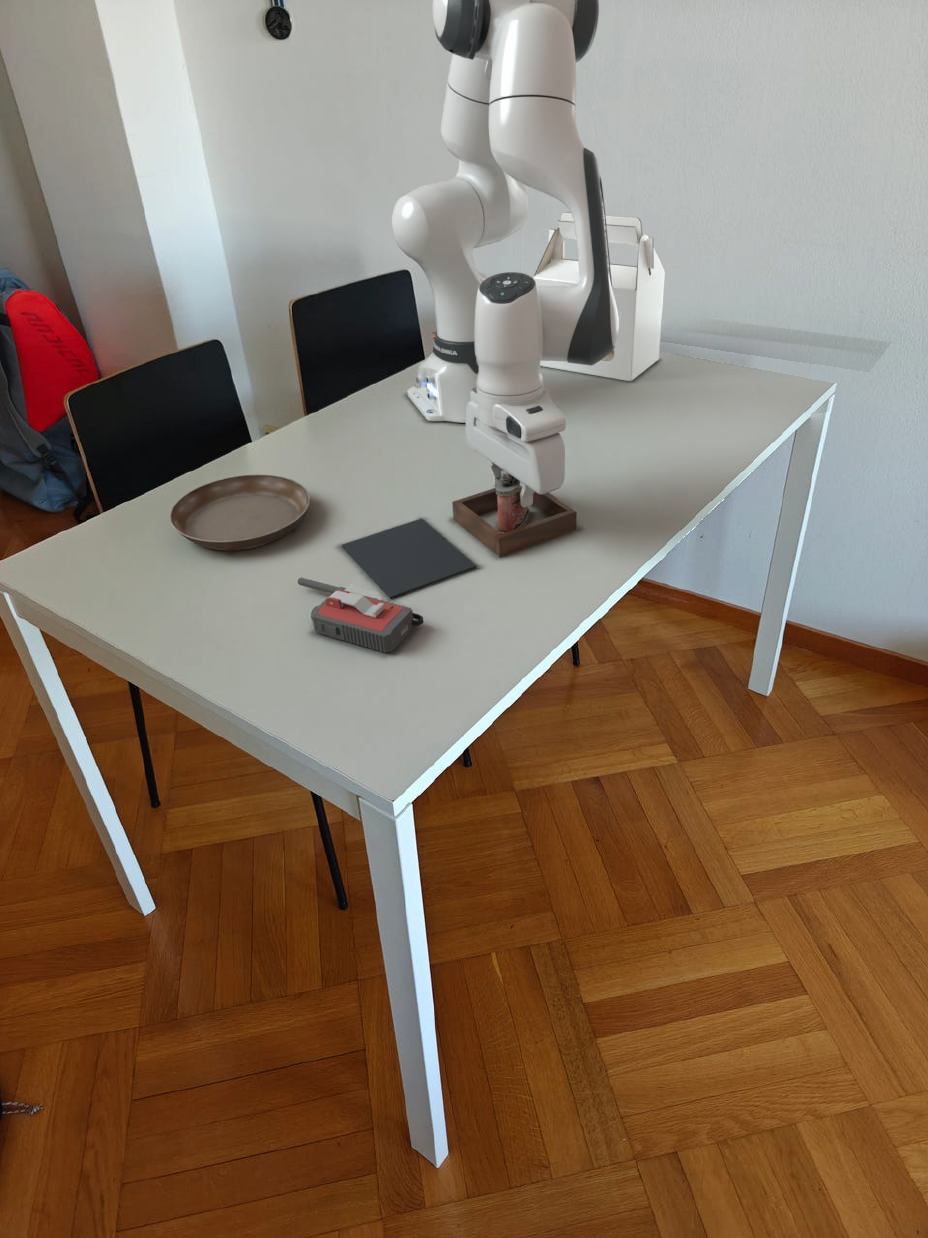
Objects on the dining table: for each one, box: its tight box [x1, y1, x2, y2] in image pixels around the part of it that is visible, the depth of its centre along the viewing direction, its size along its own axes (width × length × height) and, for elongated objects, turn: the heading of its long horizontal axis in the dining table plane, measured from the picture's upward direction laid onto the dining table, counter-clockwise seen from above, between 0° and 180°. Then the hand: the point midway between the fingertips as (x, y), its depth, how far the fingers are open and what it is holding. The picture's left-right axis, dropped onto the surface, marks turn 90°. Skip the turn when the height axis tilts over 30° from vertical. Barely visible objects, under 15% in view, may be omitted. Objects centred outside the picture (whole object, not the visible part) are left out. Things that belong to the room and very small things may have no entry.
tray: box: [451, 487, 578, 558], centre depth 128 cm, size 13×13×3 cm
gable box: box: [532, 211, 666, 382], centre depth 172 cm, size 22×13×28 cm, turn 56°
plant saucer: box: [169, 473, 311, 551], centre depth 133 cm, size 21×21×3 cm
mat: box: [341, 518, 477, 600], centre depth 123 cm, size 16×13×1 cm
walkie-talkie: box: [297, 577, 424, 654], centre depth 111 cm, size 9×4×20 cm
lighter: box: [496, 469, 530, 534], centre depth 126 cm, size 8×3×10 cm, turn 156°
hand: (513, 496), depth 126 cm, fingers closed on lighter, 5 cm apart
